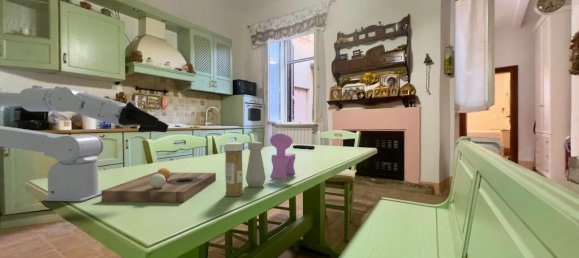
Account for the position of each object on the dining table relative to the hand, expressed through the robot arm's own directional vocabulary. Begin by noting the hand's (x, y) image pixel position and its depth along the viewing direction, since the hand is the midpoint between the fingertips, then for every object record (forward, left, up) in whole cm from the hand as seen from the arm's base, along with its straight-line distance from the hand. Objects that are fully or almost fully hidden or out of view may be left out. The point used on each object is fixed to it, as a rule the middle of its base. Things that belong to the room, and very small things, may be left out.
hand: (162, 125), depth 65 cm
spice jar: (+18, +1, -18) cm, 26 cm away
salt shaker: (+22, +10, -18) cm, 30 cm away
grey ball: (0, -3, -14) cm, 14 cm away
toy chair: (+29, +25, -18) cm, 43 cm away
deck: (-2, +5, -18) cm, 19 cm away
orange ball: (-3, +5, -14) cm, 15 cm away
